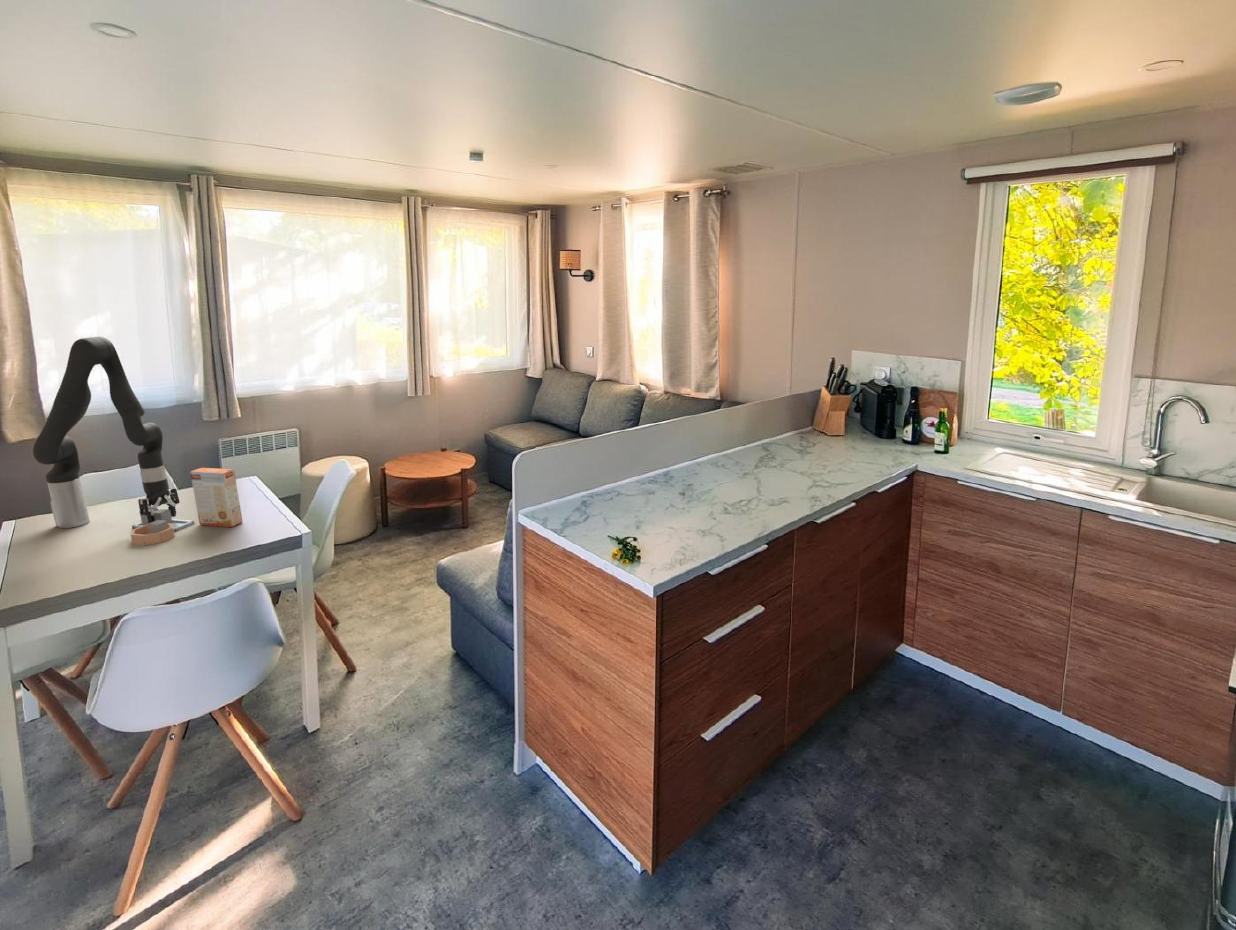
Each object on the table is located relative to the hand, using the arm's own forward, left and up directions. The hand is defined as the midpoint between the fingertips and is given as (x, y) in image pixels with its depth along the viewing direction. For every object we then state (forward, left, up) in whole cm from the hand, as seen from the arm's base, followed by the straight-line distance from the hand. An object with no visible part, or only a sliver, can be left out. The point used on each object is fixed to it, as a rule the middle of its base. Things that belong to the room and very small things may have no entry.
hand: (163, 520), depth 241 cm
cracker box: (+19, +6, -2) cm, 20 cm away
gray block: (-5, 0, -2) cm, 6 cm away
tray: (0, 0, -2) cm, 2 cm away
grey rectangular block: (+9, -11, -2) cm, 14 cm away
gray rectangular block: (0, 0, -2) cm, 2 cm away
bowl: (+7, -11, -2) cm, 13 cm away
